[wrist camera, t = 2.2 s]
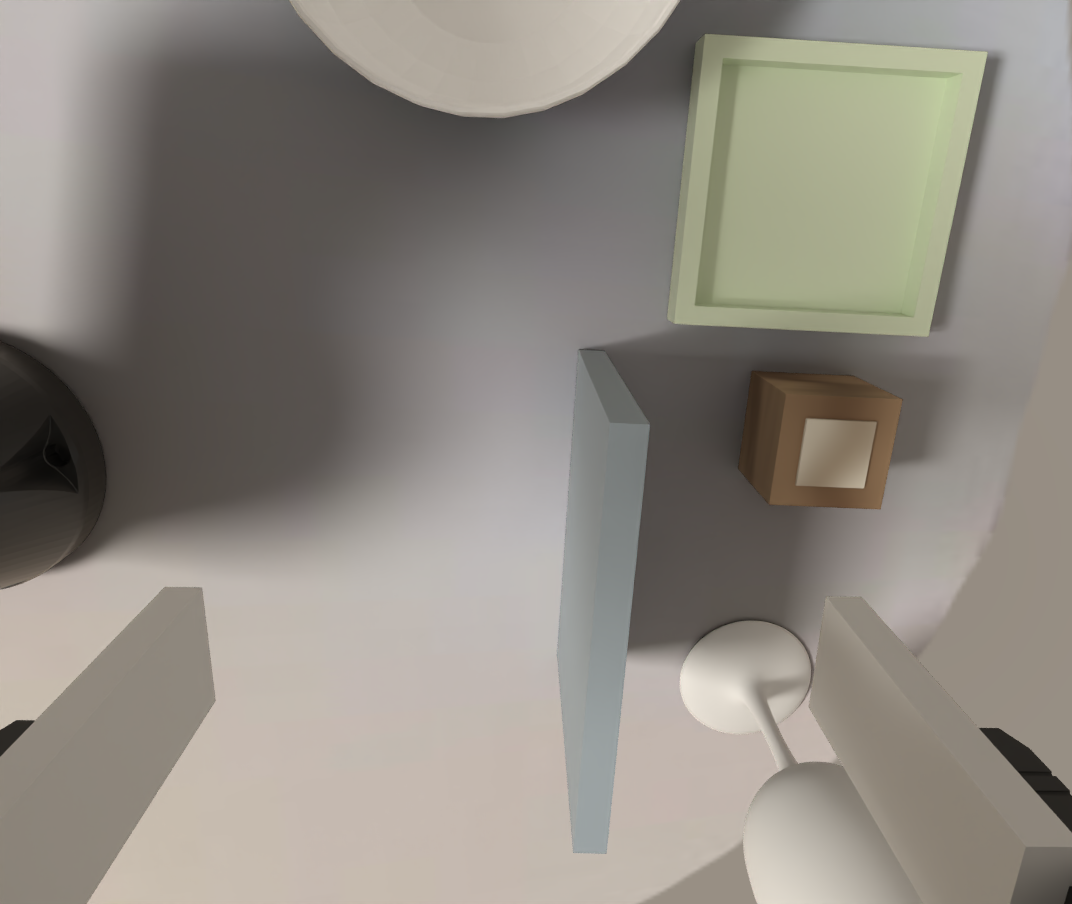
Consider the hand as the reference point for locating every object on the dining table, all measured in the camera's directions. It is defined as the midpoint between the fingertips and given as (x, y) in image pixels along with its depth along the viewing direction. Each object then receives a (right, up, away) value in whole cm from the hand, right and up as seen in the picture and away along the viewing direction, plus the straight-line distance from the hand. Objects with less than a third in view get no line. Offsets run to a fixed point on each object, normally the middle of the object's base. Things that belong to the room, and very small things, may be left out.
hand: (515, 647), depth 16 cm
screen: (+3, 0, +30) cm, 30 cm away
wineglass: (+14, -11, +34) cm, 38 cm away
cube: (+16, +6, +29) cm, 33 cm away
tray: (+15, +18, +25) cm, 34 cm away
